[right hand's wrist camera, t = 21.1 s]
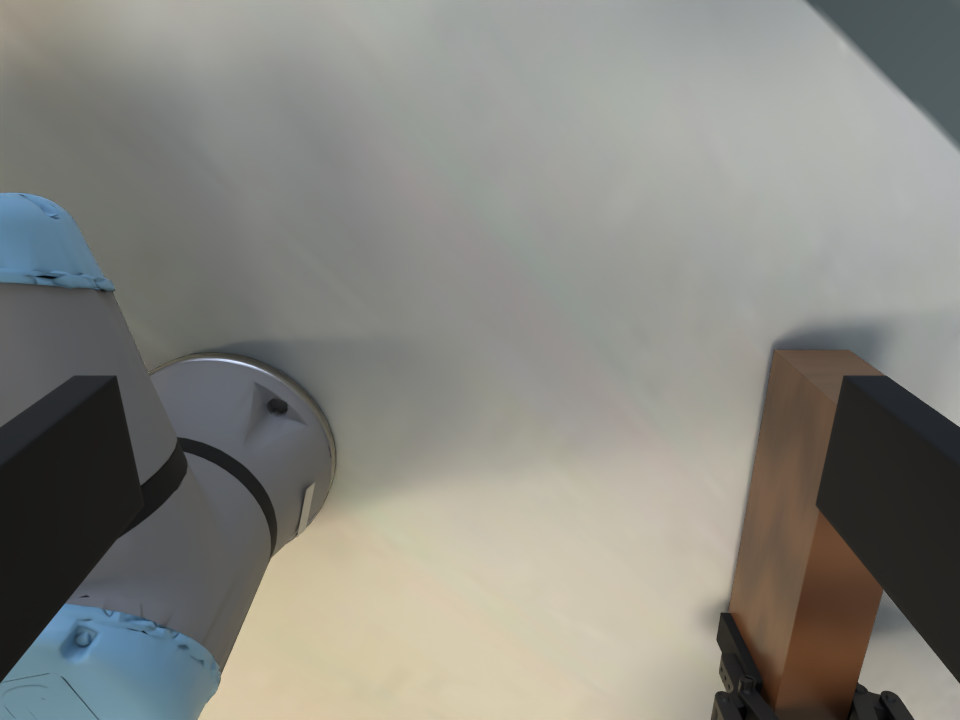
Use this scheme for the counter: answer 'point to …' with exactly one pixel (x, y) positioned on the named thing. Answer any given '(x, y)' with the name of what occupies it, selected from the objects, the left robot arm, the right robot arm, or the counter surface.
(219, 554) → the right robot arm
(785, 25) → the counter surface
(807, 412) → the bar
